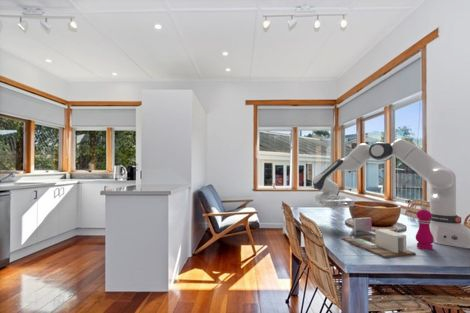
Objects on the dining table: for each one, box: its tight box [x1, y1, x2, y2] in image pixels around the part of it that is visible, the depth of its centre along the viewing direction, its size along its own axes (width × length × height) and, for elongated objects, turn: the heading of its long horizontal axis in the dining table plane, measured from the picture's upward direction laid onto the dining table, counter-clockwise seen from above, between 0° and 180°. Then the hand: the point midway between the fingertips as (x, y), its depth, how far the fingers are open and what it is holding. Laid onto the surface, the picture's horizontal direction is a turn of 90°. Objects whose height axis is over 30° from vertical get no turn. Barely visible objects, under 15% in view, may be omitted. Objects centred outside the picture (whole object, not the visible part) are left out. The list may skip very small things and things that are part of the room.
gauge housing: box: [375, 228, 407, 253], centre depth 127 cm, size 12×6×8 cm, turn 13°
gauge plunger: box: [352, 217, 376, 238], centre depth 136 cm, size 20×14×10 cm
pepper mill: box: [415, 206, 434, 251], centre depth 131 cm, size 7×7×20 cm
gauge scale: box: [351, 236, 377, 248], centre depth 134 cm, size 14×3×2 cm, turn 13°
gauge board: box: [340, 236, 417, 259], centre depth 133 cm, size 30×17×1 cm, turn 13°
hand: (345, 204), depth 159 cm, fingers closed
